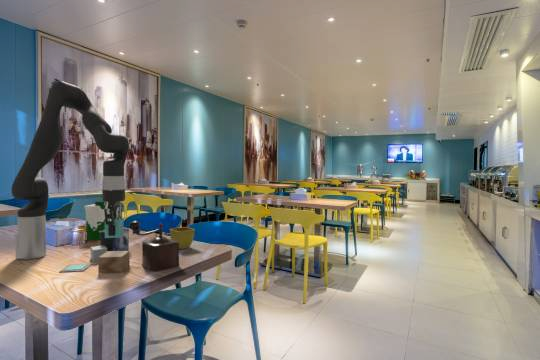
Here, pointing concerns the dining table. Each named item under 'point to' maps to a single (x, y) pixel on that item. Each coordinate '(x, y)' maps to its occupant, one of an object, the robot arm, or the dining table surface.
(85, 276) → the dining table surface
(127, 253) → the walnut base
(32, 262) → the dining table surface
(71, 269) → the tile
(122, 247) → the small box
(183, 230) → the flower pot
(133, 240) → the dining table surface
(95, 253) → the grey block
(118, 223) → the teal block
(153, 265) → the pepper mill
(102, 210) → the milk carton
